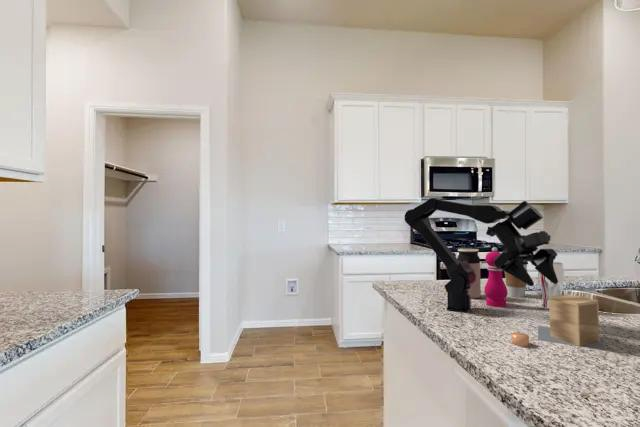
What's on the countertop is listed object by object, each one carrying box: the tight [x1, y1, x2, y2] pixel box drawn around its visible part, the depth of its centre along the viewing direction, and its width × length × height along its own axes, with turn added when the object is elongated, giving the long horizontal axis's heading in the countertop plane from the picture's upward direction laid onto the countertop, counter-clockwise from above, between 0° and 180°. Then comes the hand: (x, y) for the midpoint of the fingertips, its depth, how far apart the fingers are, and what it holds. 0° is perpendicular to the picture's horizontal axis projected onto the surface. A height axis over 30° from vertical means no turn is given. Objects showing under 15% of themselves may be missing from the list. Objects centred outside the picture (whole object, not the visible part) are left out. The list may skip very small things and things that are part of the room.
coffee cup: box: [503, 261, 529, 298], centre depth 129 cm, size 8×8×15 cm
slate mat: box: [537, 325, 607, 351], centre depth 84 cm, size 13×12×1 cm
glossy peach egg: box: [511, 331, 530, 348], centre depth 81 cm, size 4×4×2 cm
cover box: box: [549, 293, 600, 347], centre depth 83 cm, size 7×7×10 cm
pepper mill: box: [483, 246, 509, 308], centre depth 117 cm, size 7×7×20 cm
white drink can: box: [537, 261, 565, 310], centre depth 111 cm, size 7×7×15 cm
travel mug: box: [456, 248, 482, 300], centre depth 129 cm, size 8×8×18 cm
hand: (544, 284), depth 91 cm, fingers open, 9 cm apart
